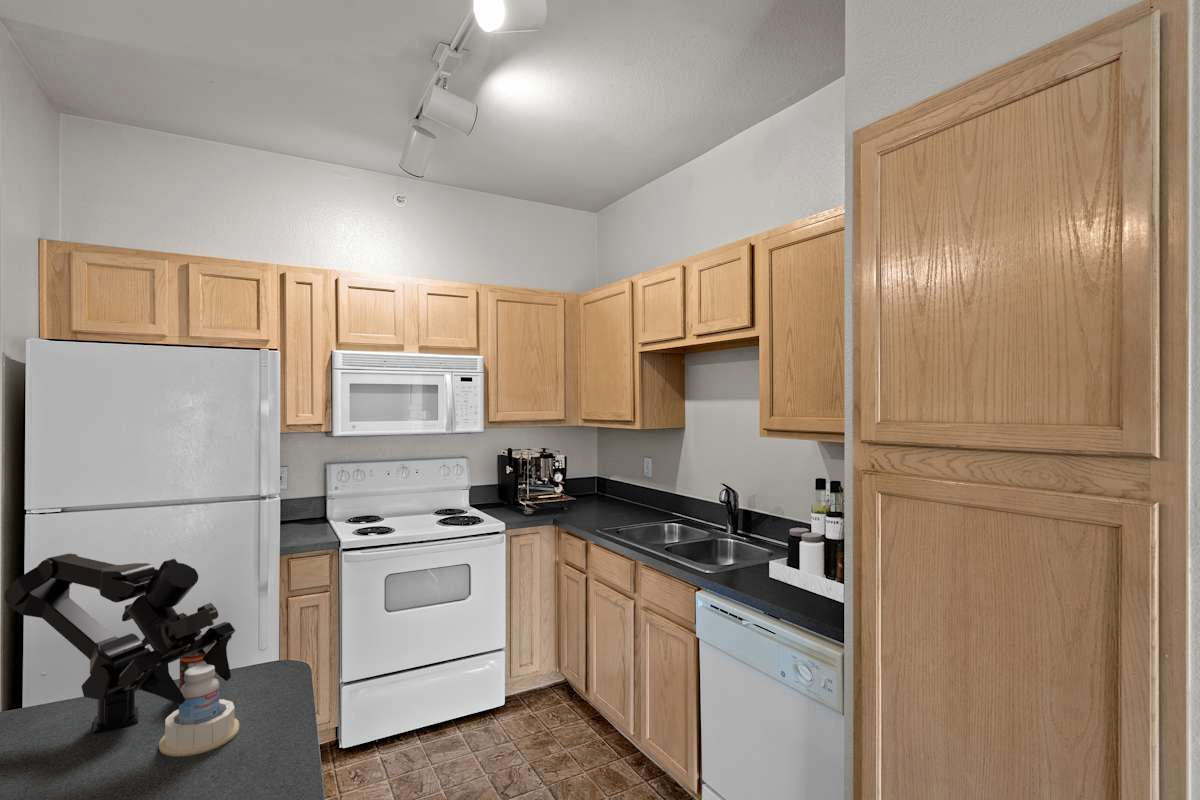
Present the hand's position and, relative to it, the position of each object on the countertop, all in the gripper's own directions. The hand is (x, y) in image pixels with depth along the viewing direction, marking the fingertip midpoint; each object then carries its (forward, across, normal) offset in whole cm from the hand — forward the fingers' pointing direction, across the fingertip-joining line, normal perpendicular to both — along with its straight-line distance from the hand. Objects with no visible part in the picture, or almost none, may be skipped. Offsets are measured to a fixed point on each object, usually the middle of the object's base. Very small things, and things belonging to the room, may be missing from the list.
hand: (206, 690), depth 109 cm
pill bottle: (+4, 0, +7) cm, 8 cm away
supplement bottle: (-6, +13, +19) cm, 24 cm away
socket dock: (+5, 0, +7) cm, 9 cm away
